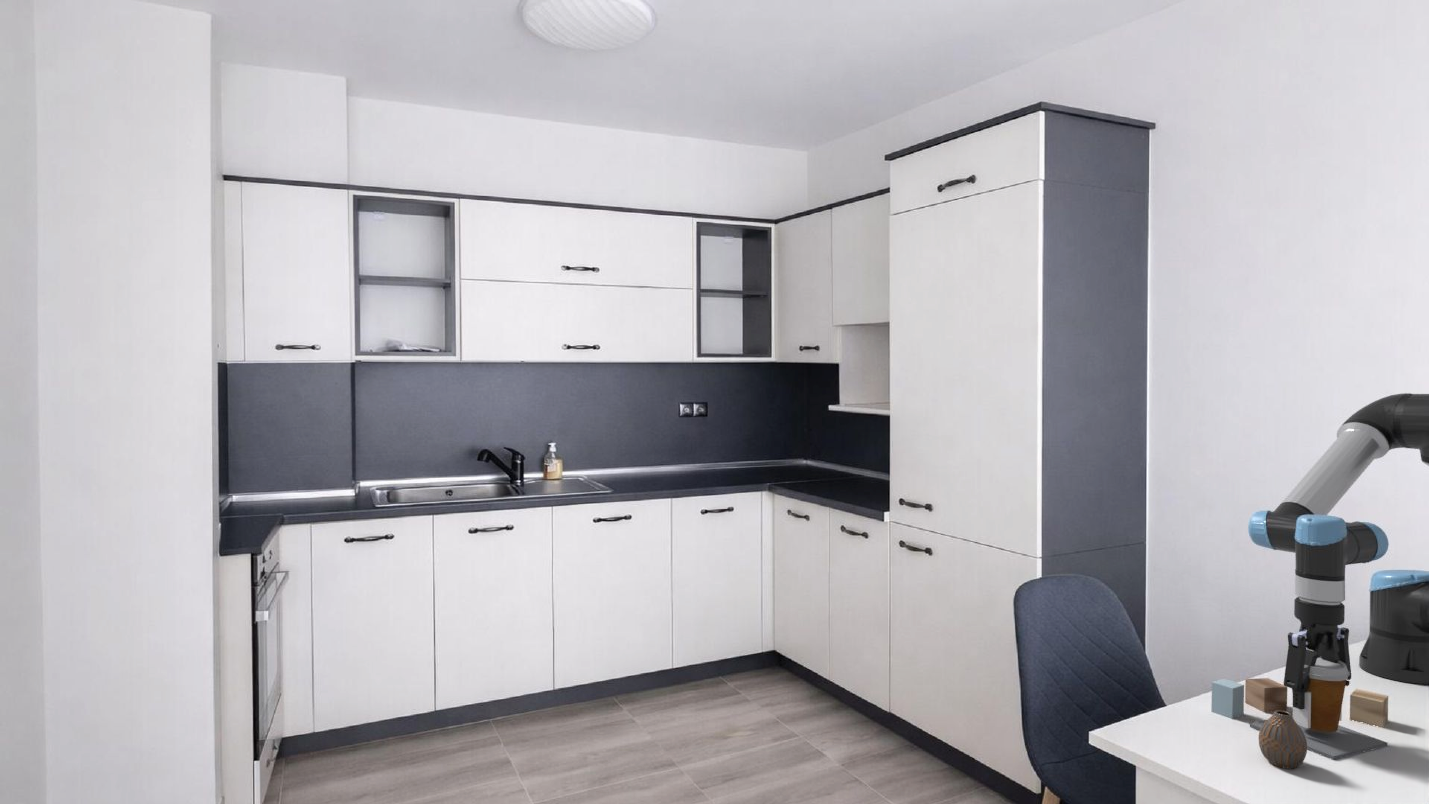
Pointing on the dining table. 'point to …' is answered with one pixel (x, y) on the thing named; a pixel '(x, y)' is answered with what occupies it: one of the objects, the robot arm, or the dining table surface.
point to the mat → (1335, 741)
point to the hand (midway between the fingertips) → (1317, 721)
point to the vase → (1282, 740)
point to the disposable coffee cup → (1326, 694)
